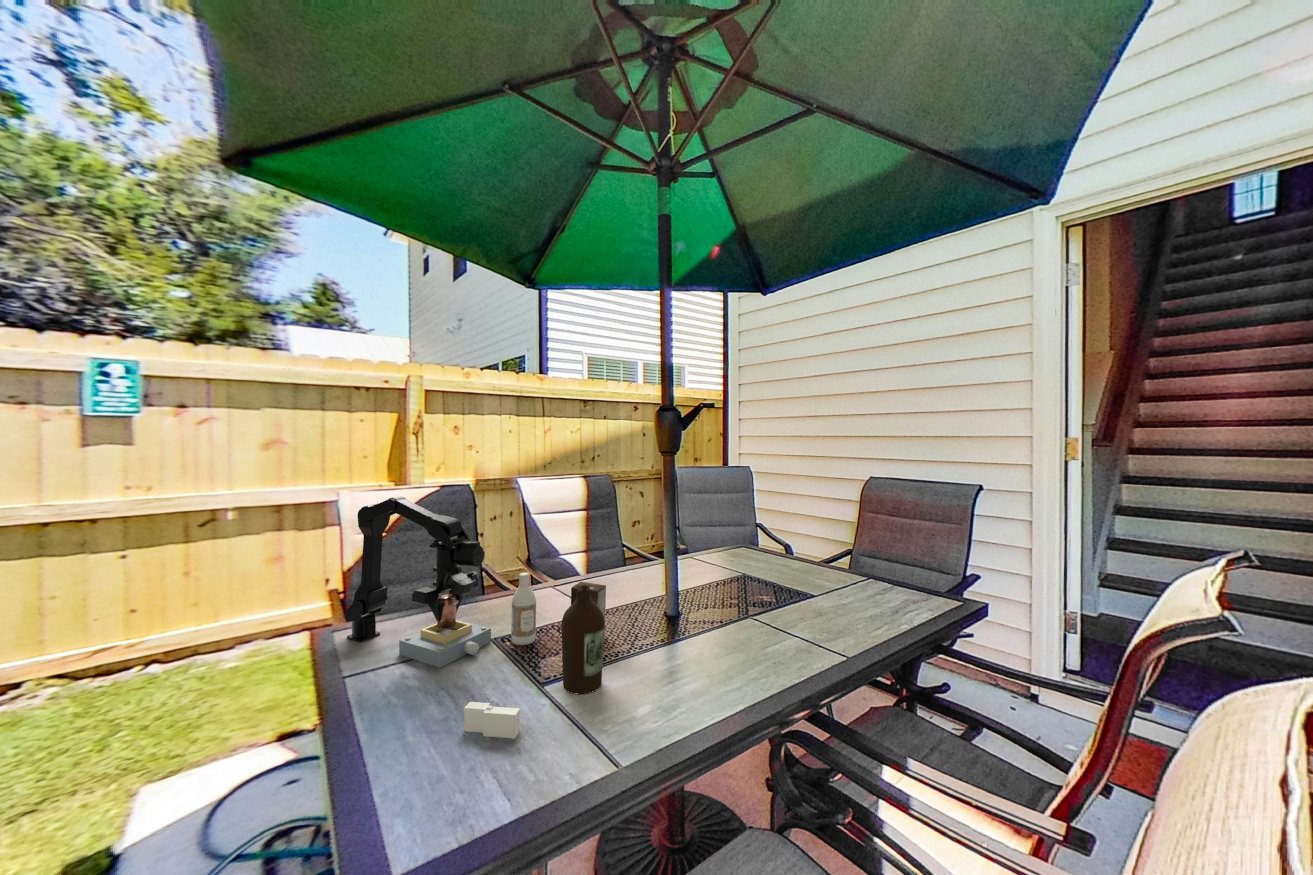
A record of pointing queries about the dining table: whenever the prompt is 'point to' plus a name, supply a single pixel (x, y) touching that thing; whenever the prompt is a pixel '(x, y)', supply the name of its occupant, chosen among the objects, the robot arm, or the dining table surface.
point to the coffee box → (593, 596)
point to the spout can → (448, 612)
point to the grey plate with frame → (444, 643)
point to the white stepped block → (492, 720)
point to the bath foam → (523, 613)
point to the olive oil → (582, 643)
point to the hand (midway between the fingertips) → (446, 617)
